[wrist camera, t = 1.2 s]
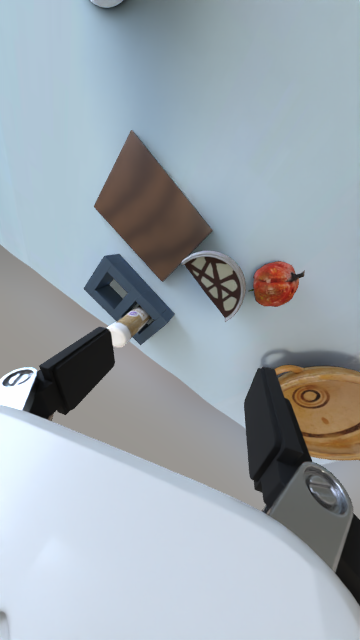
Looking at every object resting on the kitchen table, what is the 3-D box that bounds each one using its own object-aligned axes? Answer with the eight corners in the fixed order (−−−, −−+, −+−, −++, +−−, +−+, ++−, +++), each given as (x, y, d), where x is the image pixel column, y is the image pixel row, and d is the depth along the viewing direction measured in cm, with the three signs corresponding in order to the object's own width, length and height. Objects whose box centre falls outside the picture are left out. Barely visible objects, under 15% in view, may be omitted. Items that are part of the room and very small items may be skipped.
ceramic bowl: (227, 374, 43) (226, 400, 36) (321, 316, 31) (347, 338, 24) (303, 440, 46) (316, 476, 39) (417, 410, 34) (465, 454, 27)
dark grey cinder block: (98, 283, 42) (83, 288, 38) (119, 253, 37) (104, 255, 33) (149, 335, 45) (140, 345, 40) (174, 313, 40) (167, 322, 35)
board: (97, 207, 34) (93, 206, 33) (135, 133, 27) (131, 129, 26) (164, 280, 37) (162, 281, 36) (212, 230, 30) (212, 230, 29)
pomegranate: (262, 300, 35) (320, 293, 26) (241, 314, 32) (300, 311, 23) (252, 267, 33) (310, 248, 25) (229, 278, 30) (287, 260, 21)
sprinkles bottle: (153, 301, 40) (121, 326, 28) (157, 318, 42) (128, 348, 30) (136, 302, 41) (100, 327, 30) (141, 318, 43) (108, 348, 31)
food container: (255, 286, 32) (264, 303, 23) (228, 303, 35) (227, 324, 26) (218, 233, 30) (213, 230, 21) (192, 255, 33) (179, 261, 24)
